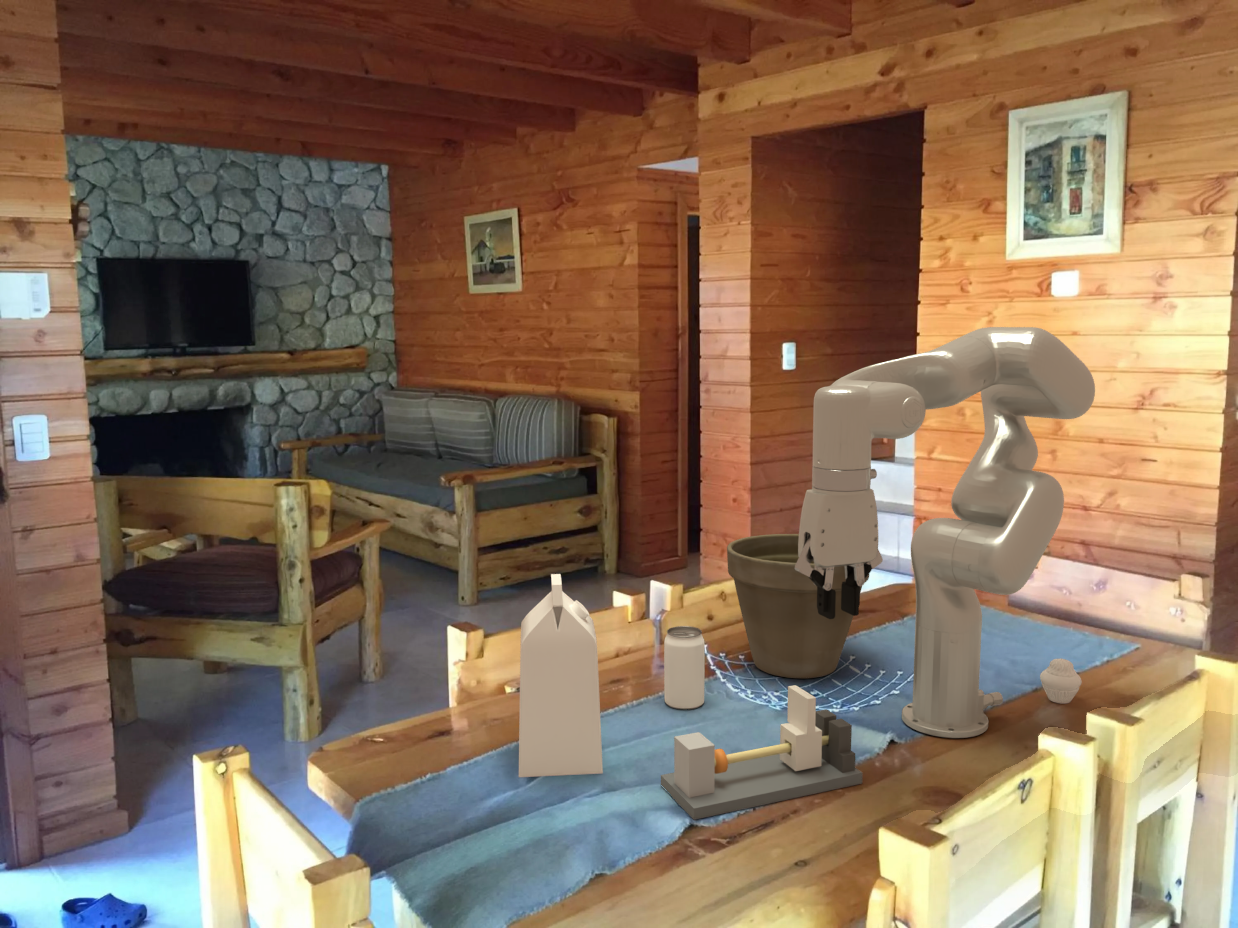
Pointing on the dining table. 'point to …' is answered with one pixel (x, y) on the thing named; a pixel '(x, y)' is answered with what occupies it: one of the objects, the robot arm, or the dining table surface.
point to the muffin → (1060, 681)
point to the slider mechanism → (756, 772)
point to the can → (684, 667)
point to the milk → (559, 689)
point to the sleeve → (801, 731)
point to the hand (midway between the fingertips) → (838, 613)
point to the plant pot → (785, 608)
